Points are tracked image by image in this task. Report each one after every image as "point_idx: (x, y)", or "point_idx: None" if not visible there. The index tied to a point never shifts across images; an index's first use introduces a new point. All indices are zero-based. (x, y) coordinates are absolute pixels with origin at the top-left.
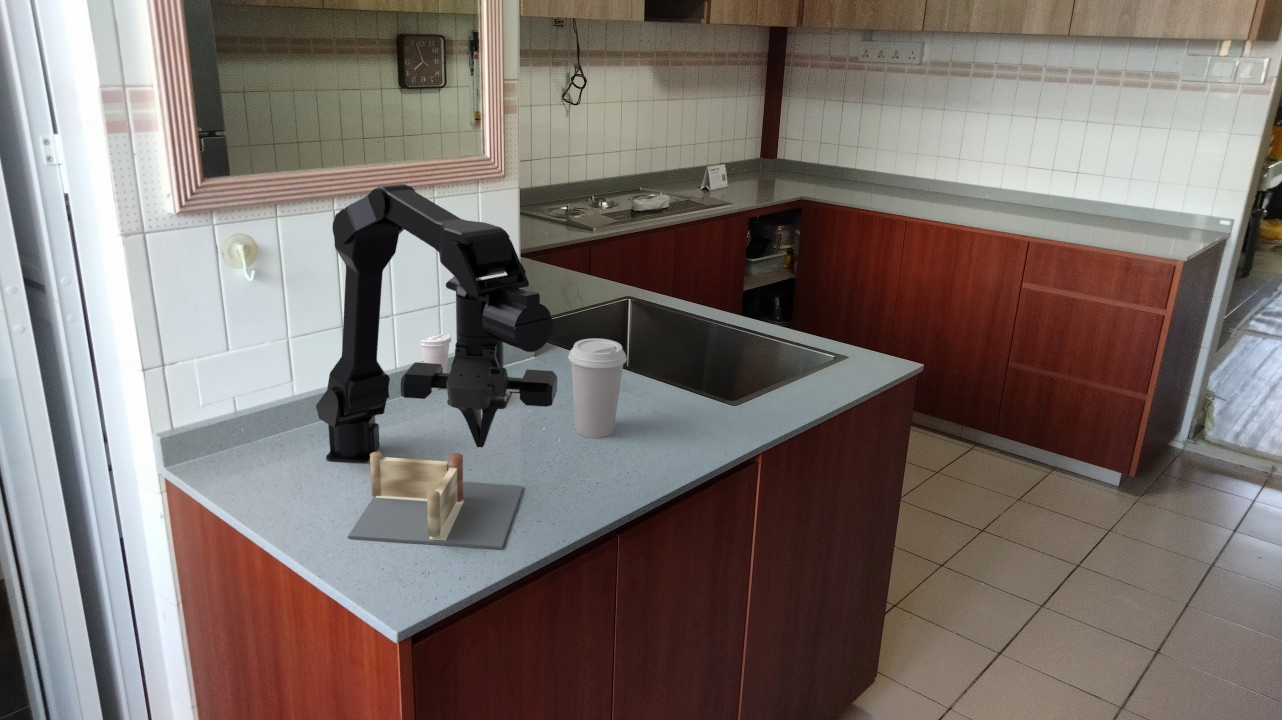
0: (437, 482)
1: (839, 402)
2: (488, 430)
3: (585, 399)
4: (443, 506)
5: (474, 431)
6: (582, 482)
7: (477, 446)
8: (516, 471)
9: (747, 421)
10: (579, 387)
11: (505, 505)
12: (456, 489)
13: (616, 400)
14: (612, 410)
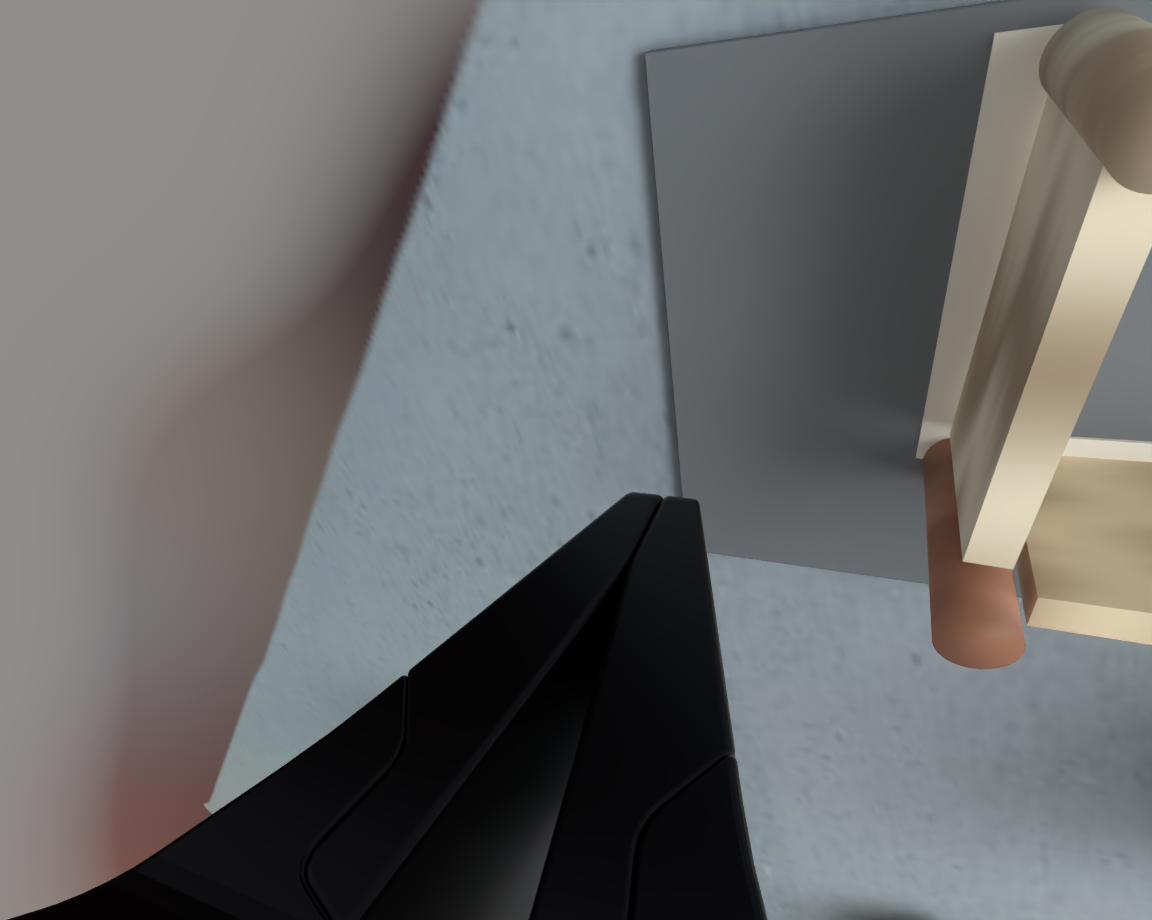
0: (1084, 520)
1: (228, 757)
2: (465, 638)
3: None
4: (1037, 237)
5: (659, 648)
6: (518, 566)
7: (687, 500)
8: (738, 634)
9: (314, 739)
10: None
11: (719, 424)
12: (958, 464)
13: None
14: None
